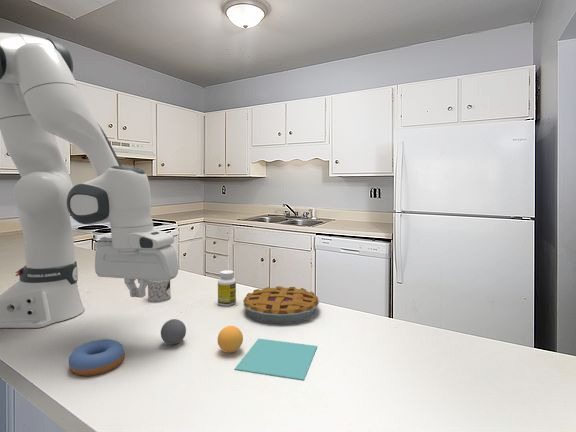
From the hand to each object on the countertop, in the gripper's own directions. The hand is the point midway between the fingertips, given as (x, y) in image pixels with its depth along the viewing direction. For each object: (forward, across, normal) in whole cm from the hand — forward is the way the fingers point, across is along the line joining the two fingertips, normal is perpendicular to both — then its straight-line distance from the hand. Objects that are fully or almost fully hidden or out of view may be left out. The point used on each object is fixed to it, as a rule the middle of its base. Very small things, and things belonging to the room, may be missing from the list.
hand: (138, 296), depth 82 cm
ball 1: (+8, +9, 0) cm, 12 cm away
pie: (+12, +26, +27) cm, 39 cm away
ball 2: (+8, +23, 0) cm, 24 cm away
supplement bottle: (+11, +9, +28) cm, 31 cm away
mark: (+11, +34, +1) cm, 35 cm away
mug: (+11, -14, +27) cm, 32 cm away
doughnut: (+10, -1, -12) cm, 16 cm away
